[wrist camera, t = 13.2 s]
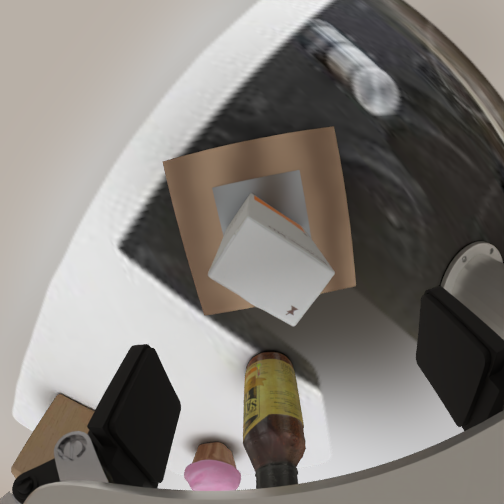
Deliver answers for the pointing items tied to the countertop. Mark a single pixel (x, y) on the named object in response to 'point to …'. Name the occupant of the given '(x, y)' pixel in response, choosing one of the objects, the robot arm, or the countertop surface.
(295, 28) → the countertop surface
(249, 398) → the sauce bottle
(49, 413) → the wooden block
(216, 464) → the cupcake
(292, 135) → the walnut picture frame
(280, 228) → the skincare box
